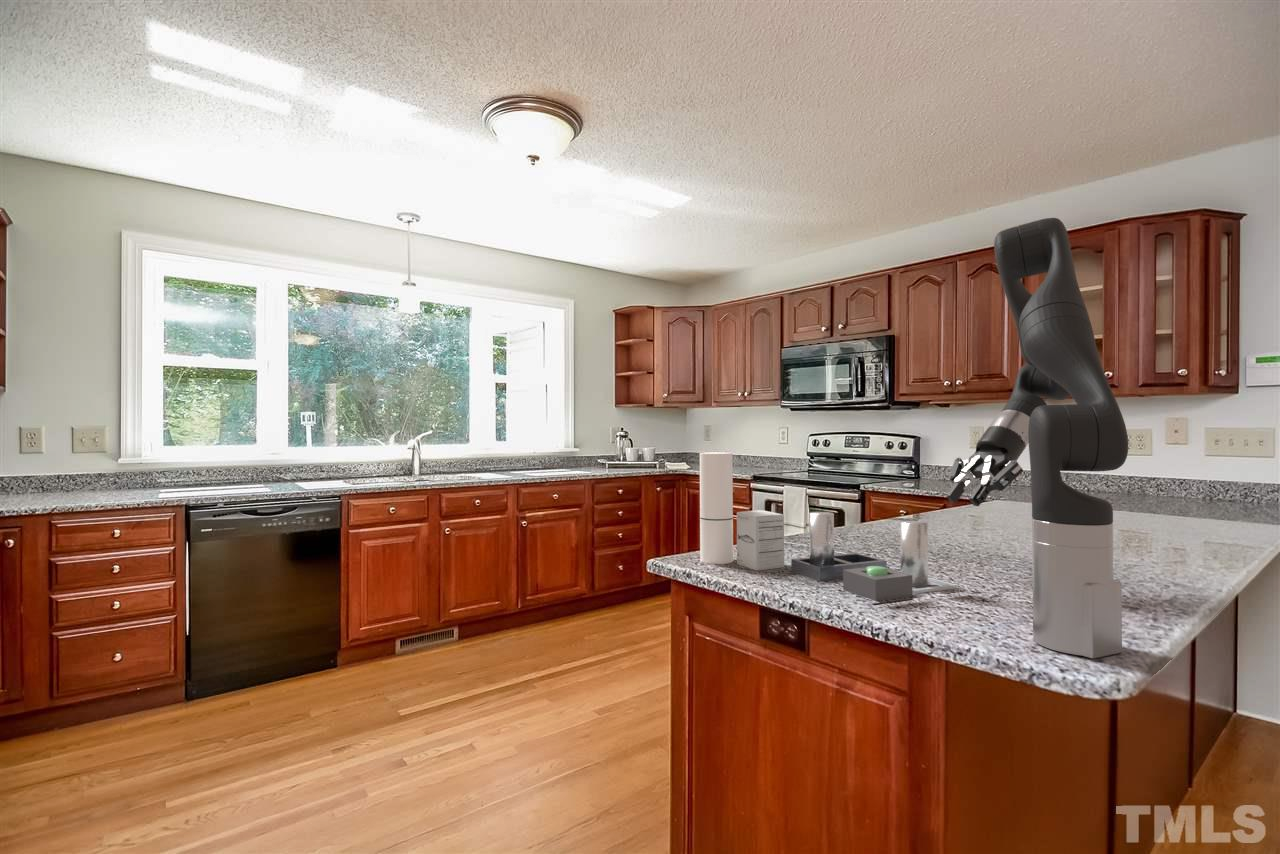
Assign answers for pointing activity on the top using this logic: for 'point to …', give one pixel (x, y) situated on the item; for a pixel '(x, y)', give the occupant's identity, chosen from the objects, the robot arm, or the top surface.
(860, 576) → the block
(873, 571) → the button
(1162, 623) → the top surface
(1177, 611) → the top surface
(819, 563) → the cylinder
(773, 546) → the supplement box
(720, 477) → the cylindrical container
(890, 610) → the top surface
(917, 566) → the cylinder
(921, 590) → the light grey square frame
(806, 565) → the double-well grey tray
